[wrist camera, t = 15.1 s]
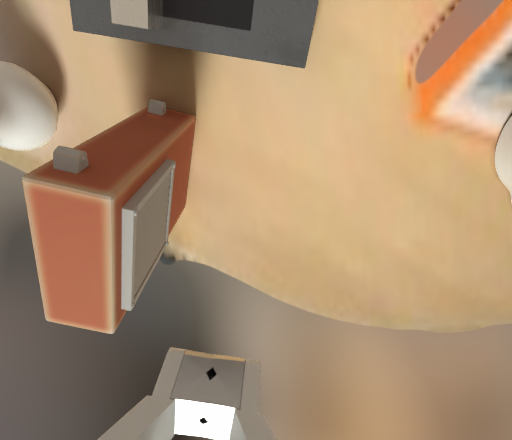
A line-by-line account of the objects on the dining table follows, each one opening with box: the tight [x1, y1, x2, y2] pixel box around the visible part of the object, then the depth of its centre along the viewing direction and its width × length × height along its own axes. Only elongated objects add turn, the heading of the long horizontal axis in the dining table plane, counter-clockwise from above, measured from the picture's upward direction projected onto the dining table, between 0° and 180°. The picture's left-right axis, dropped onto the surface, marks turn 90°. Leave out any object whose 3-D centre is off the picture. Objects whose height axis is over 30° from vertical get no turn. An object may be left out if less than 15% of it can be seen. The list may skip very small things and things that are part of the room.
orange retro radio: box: [22, 99, 196, 334], centre depth 31 cm, size 21×7×15 cm
